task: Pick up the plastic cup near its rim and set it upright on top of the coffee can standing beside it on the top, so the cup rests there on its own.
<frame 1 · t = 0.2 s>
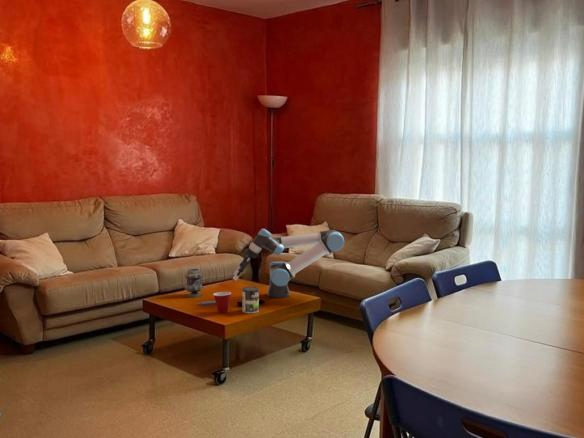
hand: (234, 277, 355), 16 cm above the table, tool tilted 35°, fingers open, 13 cm apart
coffee can: (250, 311, 336), on the table
plastic cup: (222, 312, 334), on the table
apothecary jar: (194, 295, 373), on the table
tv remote: (211, 304, 352), on the table
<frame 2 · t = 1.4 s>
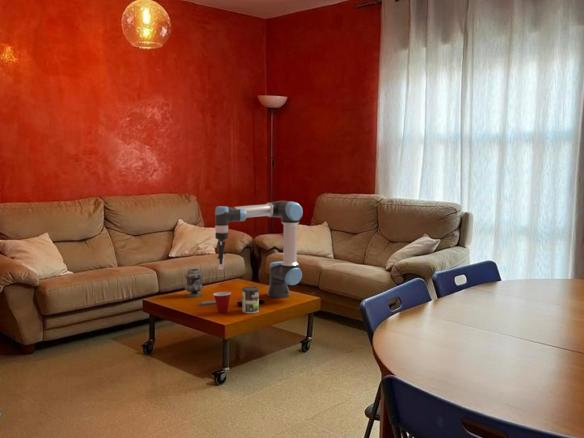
hand: (221, 267, 331), 28 cm above the table, tool pointing down, fingers open, 13 cm apart
nothing on the table moved.
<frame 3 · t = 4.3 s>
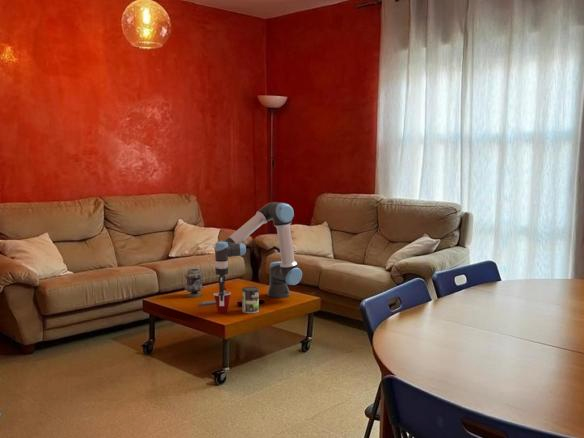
hand: (222, 303, 333), 5 cm above the table, tool pointing down, fingers closed on plastic cup, 11 cm apart
plastic cup: (222, 312, 334), on the table, touching gripper
everything else where it was.
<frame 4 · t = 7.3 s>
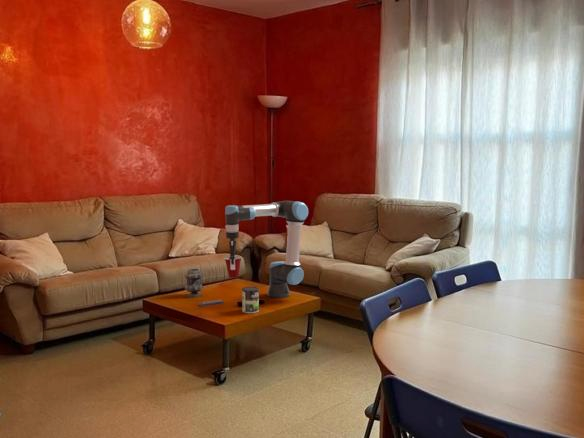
hand: (233, 267, 331), 27 cm above the table, tool pointing down, fingers closed on plastic cup, 11 cm apart
plastic cup: (233, 276, 332), point 22 cm above the table, touching gripper
everything else where it was.
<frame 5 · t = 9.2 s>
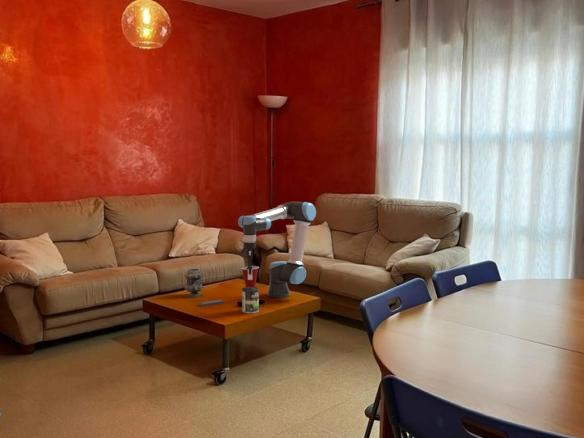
hand: (250, 277, 333), 21 cm above the table, tool pointing down, fingers closed on plastic cup, 11 cm apart
plastic cup: (250, 286, 334), point 15 cm above the table, touching gripper
everything else where it was.
when the fingers open (20 cm above the table, at t = 10.3 s): plastic cup stays where it is, resting on coffee can.
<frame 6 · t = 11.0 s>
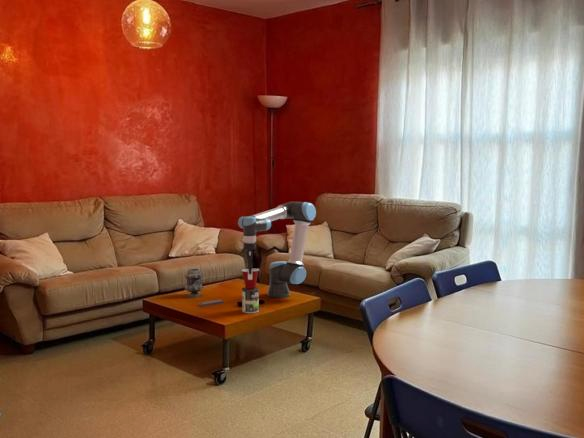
hand: (250, 276, 333), 21 cm above the table, tool pointing down, fingers open, 13 cm apart
coffee can: (250, 311, 336), on the table, touching plastic cup
plastic cup: (250, 288, 334), point 14 cm above the table, touching coffee can
everything else where it was.
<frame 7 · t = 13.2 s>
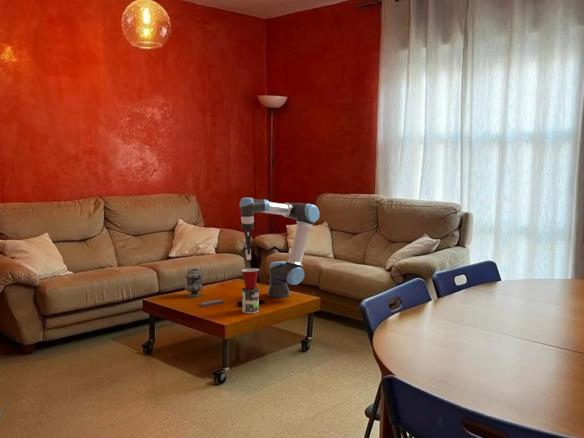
hand: (248, 257, 337), 32 cm above the table, tool pointing down, fingers open, 13 cm apart
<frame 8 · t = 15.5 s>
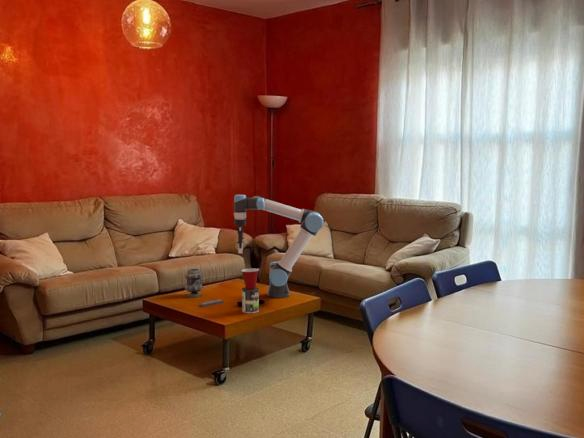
hand: (240, 251, 355), 33 cm above the table, tool pointing down, fingers open, 13 cm apart
at the end: plastic cup 0.1 cm off-centre on the coffee can, point 14.1 cm above the coffee can's base; plastic cup tilted 0°; the gripper is holding nothing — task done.
